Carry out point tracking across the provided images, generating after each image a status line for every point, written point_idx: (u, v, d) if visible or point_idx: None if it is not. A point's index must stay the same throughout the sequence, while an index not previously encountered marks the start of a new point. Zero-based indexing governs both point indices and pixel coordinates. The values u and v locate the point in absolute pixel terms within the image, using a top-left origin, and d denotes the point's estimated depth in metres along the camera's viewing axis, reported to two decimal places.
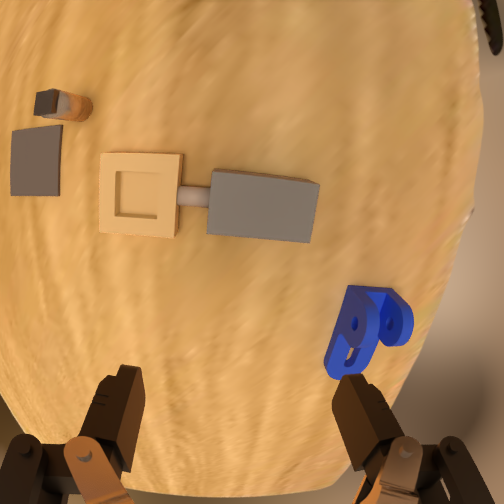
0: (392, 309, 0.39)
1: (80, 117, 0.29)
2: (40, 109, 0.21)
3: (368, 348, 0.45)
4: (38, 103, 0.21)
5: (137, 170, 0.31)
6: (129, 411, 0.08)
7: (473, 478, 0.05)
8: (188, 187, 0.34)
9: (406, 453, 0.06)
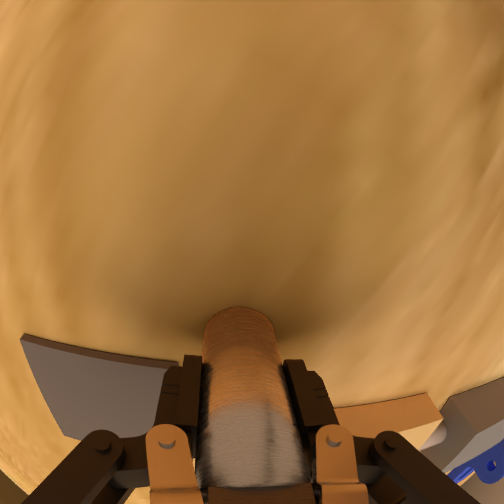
0: None
1: None
2: None
3: None
4: None
5: None
6: (199, 397, 0.09)
7: (425, 468, 0.06)
8: None
9: (332, 442, 0.07)
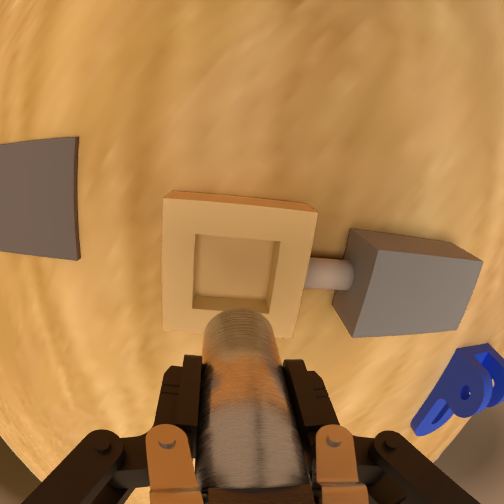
0: (493, 369, 0.27)
1: None
2: None
3: None
4: None
5: (239, 235, 0.19)
6: (199, 397, 0.09)
7: (425, 468, 0.06)
8: (319, 261, 0.21)
9: (332, 442, 0.07)
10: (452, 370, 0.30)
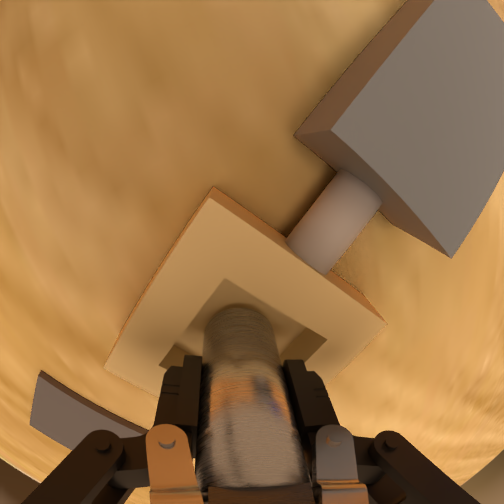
0: None
1: None
2: None
3: None
4: None
5: (185, 324, 0.12)
6: (199, 397, 0.09)
7: (425, 468, 0.06)
8: (306, 223, 0.12)
9: (332, 442, 0.07)
10: None
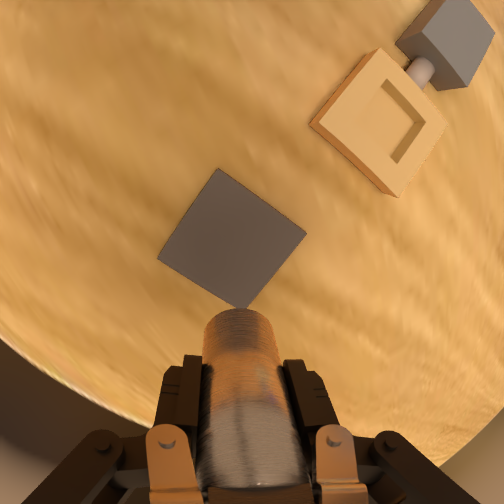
0: None
1: None
2: None
3: None
4: None
5: (370, 96, 0.21)
6: (199, 398, 0.09)
7: (425, 468, 0.06)
8: (408, 71, 0.21)
9: (332, 442, 0.07)
10: None
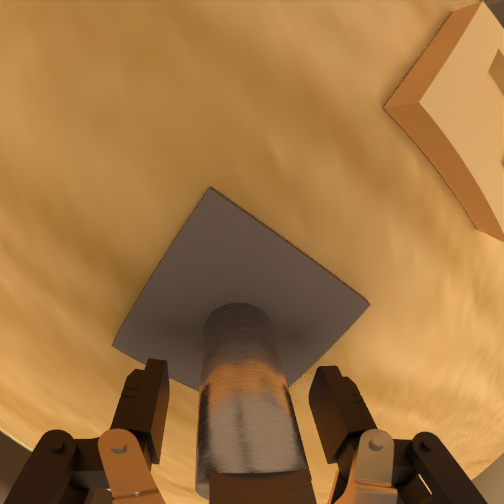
0: None
1: None
2: None
3: None
4: None
5: (485, 72, 0.08)
6: (159, 403, 0.08)
7: (454, 472, 0.05)
8: None
9: (375, 446, 0.07)
10: None
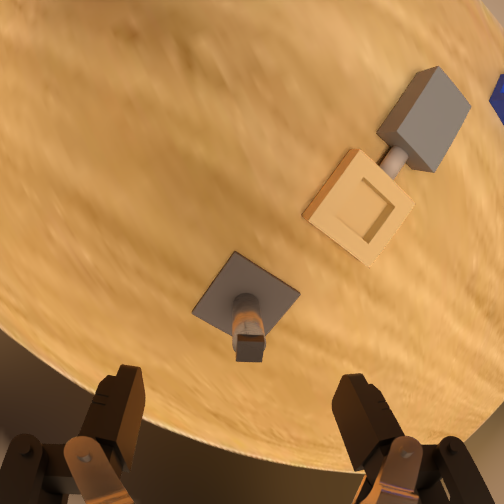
0: None
1: None
2: (246, 357, 0.28)
3: None
4: (242, 351, 0.27)
5: (348, 195, 0.31)
6: (129, 411, 0.08)
7: (473, 478, 0.05)
8: (384, 162, 0.31)
9: (406, 453, 0.06)
10: (502, 113, 0.29)
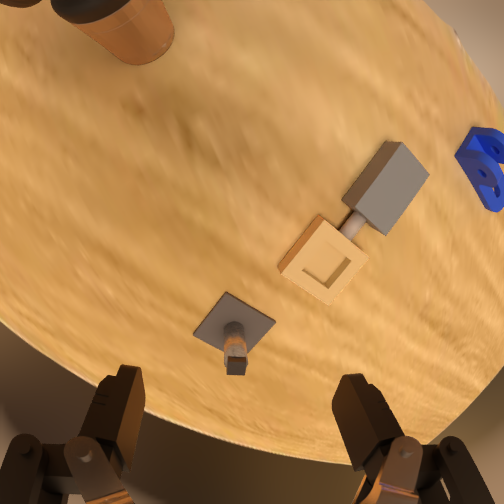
0: (487, 140, 0.35)
1: None
2: (233, 372, 0.39)
3: None
4: (231, 368, 0.39)
5: (313, 254, 0.42)
6: (129, 411, 0.08)
7: (473, 478, 0.05)
8: (345, 226, 0.42)
9: (406, 453, 0.06)
10: (465, 167, 0.40)
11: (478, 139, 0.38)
